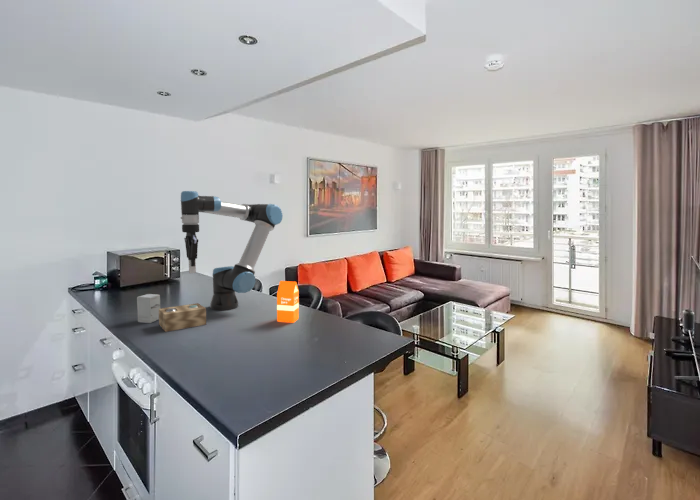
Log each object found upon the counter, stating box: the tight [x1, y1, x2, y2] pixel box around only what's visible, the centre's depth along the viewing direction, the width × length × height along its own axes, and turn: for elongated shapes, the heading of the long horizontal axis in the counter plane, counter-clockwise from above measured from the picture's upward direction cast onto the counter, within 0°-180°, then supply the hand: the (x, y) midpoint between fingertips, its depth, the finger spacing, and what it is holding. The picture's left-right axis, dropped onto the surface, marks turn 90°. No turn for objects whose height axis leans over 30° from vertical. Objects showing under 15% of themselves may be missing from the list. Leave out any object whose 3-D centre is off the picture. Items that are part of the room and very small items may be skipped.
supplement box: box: [136, 293, 161, 324], centre depth 180 cm, size 7×7×13 cm
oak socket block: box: [158, 302, 207, 333], centre depth 174 cm, size 18×12×8 cm, turn 129°
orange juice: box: [276, 280, 300, 324], centre depth 184 cm, size 8×9×20 cm
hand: (192, 272), depth 176 cm, fingers closed
